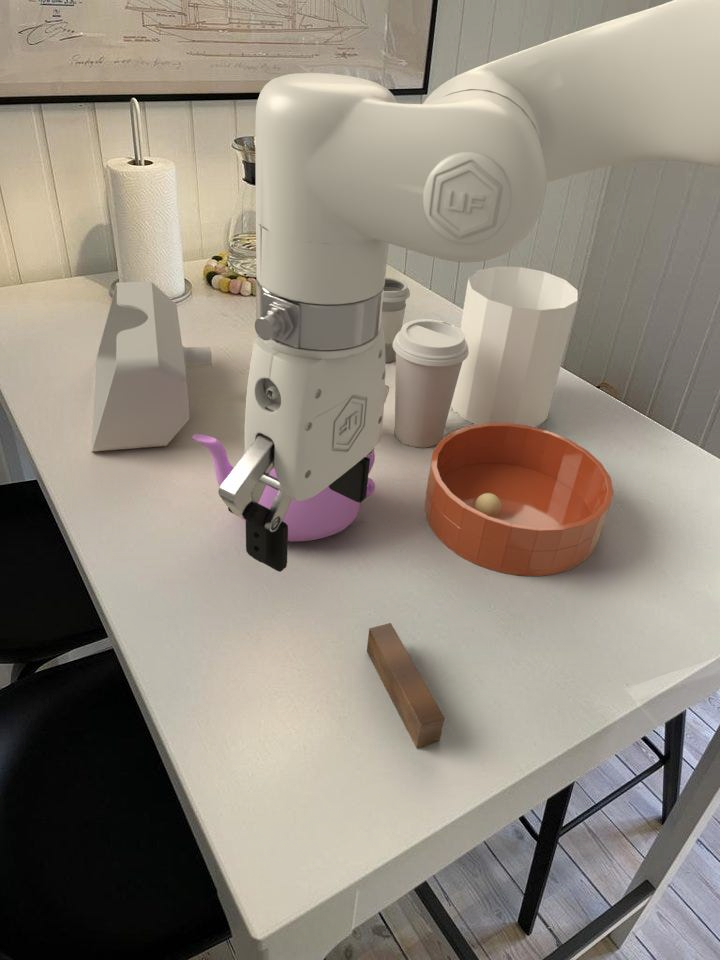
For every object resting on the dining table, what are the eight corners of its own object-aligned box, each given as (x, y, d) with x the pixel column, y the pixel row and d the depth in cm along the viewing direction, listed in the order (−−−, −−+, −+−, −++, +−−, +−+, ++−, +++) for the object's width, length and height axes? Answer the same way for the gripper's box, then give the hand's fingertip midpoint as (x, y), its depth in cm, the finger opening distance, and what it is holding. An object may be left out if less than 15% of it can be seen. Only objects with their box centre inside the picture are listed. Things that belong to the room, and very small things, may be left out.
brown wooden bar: (439, 741, 64) (445, 718, 62) (416, 748, 63) (421, 725, 61) (387, 645, 72) (390, 622, 70) (366, 651, 71) (369, 628, 69)
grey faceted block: (222, 446, 96) (218, 358, 89) (90, 456, 92) (75, 366, 85) (205, 355, 115) (200, 276, 108) (95, 360, 112) (83, 279, 104)
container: (448, 424, 104) (468, 302, 94) (450, 374, 116) (468, 261, 105) (552, 436, 104) (585, 315, 93) (544, 385, 115) (572, 272, 104)
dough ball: (503, 521, 87) (508, 501, 85) (481, 526, 86) (485, 506, 84) (490, 506, 89) (495, 485, 87) (468, 510, 88) (472, 490, 86)
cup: (378, 371, 115) (385, 297, 108) (350, 354, 119) (355, 281, 112) (411, 358, 119) (420, 286, 112) (383, 342, 123) (390, 272, 116)
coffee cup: (467, 443, 101) (487, 341, 92) (409, 461, 96) (424, 356, 87) (425, 409, 107) (440, 311, 98) (369, 425, 103) (379, 323, 94)
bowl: (634, 553, 85) (651, 509, 81) (477, 594, 78) (488, 547, 74) (536, 454, 100) (546, 412, 96) (396, 480, 93) (402, 437, 89)
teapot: (361, 474, 93) (368, 392, 86) (385, 545, 83) (395, 459, 76) (196, 485, 89) (190, 399, 82) (200, 561, 79) (194, 471, 72)
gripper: (276, 383, 38) (273, 618, 48) (443, 285, 50) (412, 490, 60) (168, 337, 41) (187, 567, 51) (349, 255, 53) (335, 455, 63)
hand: (309, 525), depth 55 cm, fingers open, 9 cm apart
